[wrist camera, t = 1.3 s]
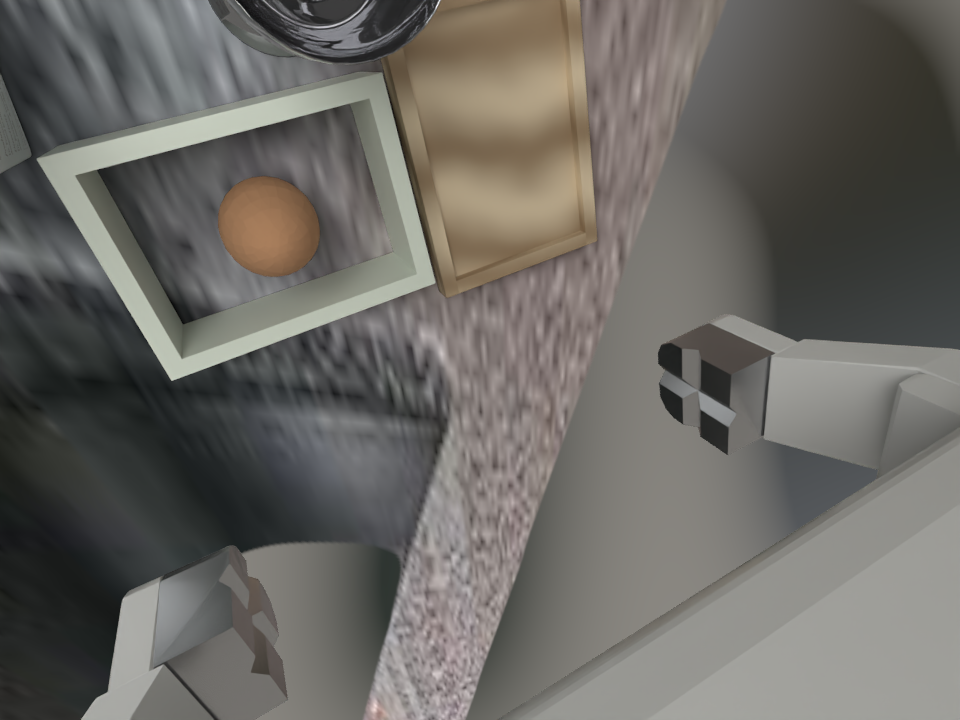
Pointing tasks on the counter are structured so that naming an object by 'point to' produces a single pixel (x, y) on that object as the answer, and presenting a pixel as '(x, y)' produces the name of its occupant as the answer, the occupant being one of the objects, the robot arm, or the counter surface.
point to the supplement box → (10, 133)
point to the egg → (268, 226)
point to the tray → (496, 136)
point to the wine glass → (326, 27)
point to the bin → (277, 312)
